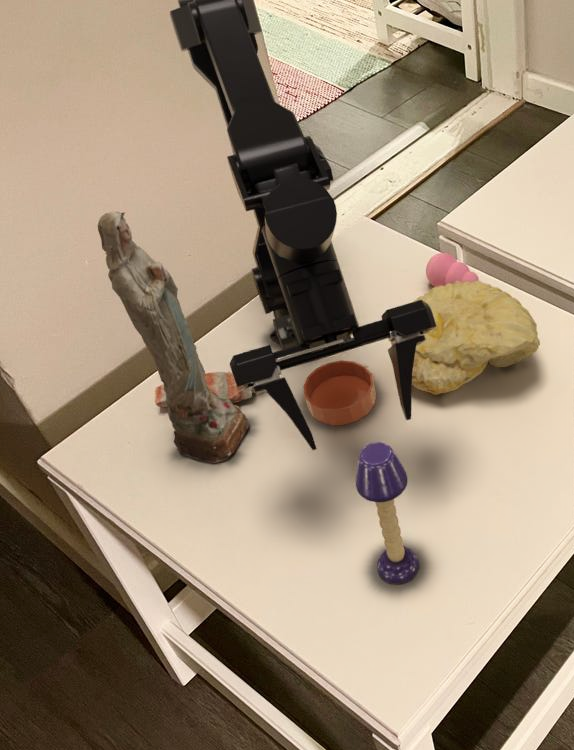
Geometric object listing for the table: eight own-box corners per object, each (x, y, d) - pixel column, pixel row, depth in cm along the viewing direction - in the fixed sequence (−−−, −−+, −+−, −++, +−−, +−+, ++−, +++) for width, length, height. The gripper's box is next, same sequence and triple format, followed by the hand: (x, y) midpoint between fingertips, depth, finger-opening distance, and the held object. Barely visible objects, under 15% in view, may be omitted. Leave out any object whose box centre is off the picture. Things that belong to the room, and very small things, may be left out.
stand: (294, 408, 105) (289, 393, 103) (337, 367, 109) (333, 352, 107) (347, 434, 102) (343, 419, 100) (389, 391, 106) (386, 375, 104)
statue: (227, 467, 100) (133, 239, 77) (169, 456, 102) (58, 229, 78) (255, 419, 104) (174, 189, 81) (199, 409, 106) (103, 181, 83)
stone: (150, 405, 104) (155, 372, 107) (157, 418, 106) (162, 385, 109) (256, 396, 104) (259, 363, 107) (262, 409, 106) (264, 377, 109)
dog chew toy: (432, 244, 114) (480, 267, 112) (443, 253, 118) (490, 274, 117) (417, 277, 115) (465, 300, 113) (429, 284, 119) (475, 306, 117)
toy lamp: (369, 554, 92) (341, 444, 79) (412, 538, 92) (391, 427, 80) (385, 590, 89) (359, 483, 76) (429, 573, 90) (411, 464, 77)
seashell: (443, 330, 116) (368, 380, 106) (448, 252, 109) (368, 297, 99) (556, 377, 109) (487, 435, 99) (568, 297, 102) (495, 351, 92)
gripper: (394, 260, 92) (440, 407, 94) (214, 312, 89) (266, 463, 91) (409, 236, 81) (462, 403, 83) (205, 294, 78) (264, 466, 80)
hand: (362, 434), depth 84 cm, fingers open, 9 cm apart
